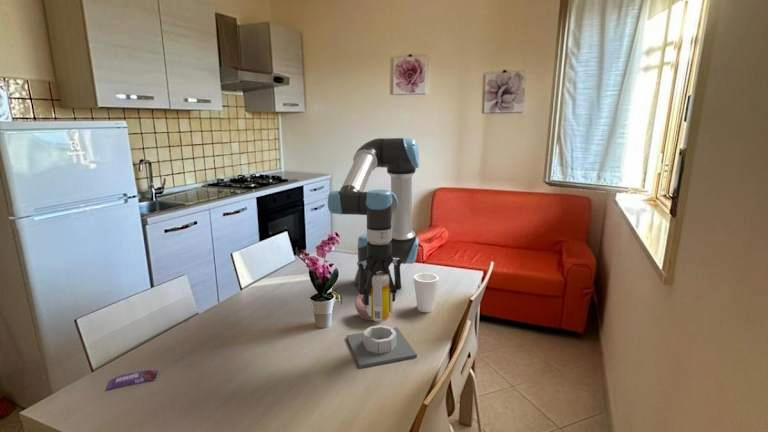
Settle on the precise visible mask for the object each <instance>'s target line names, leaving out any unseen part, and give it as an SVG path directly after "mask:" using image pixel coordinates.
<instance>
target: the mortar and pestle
mask: <svg viewBox="0 0 768 432" xmlns="http://www.w3.org/2000/svg"><path fill="white" fill-rule="evenodd" d="M354 303H355V304H354V305H355V306H354V307H355V310H356V311H357V313H358V314H359V316H360V317H361V318H363V319H365V320H369V321H373V320H372V318H371V317H370V316H369V315H368V313H367V305H365V304H364V295H360V294H358V295H357V296H356V298H355V302H354Z"/></svg>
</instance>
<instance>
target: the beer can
mask: <svg viewBox="0 0 768 432" xmlns="http://www.w3.org/2000/svg"><path fill="white" fill-rule="evenodd" d="M389 290H390V288H389V275H388V274H386V273H385V272H384V271H379V272H376V275H373V277H372V286H371V290H370V295H371V298H372V316H370V317H371V318H372V320H371V321H373V322H379V323H381V322H386V321H387V320H388V319H389V318H390V312H389Z"/></svg>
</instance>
